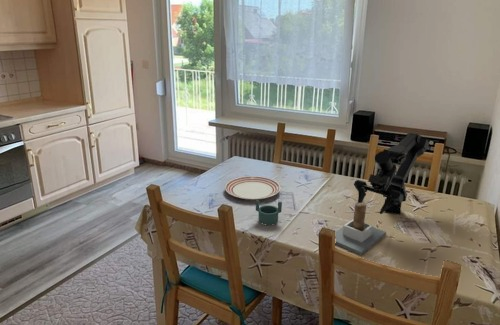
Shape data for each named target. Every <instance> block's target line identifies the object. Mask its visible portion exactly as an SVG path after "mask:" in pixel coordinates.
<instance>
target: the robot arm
mask: <svg viewBox="0 0 500 325" xmlns="http://www.w3.org/2000/svg"><path fill="white" fill-rule="evenodd" d="M429 144H430V142H429V140H428V139H426V138H425V137H423V136H422V135H420V134H419V133H414V132H408V133H407V134H406V136H405V137H404V138H403V139H402V140H400V142H399V143H398V144H397V145H393V146H390V147H388V148H387V149H386V148H384V149H383V150H382V151H379V152H378V153H377V154H375V155H374V161H375V163H376V166H377V168H378V169H379V170H378V173H376V174H373V173H371V174H369V177H368V181H367V182H368V183H370V185H368V184H367V182H366V181H364V180H360V179H356V180H355V181H354V182H353V186H354V188H355V189H356V191H357V193H358V194H357V195H358V197H357V203H363V201H364V199H365V197H366V195H367V192H368V191H369V192H372V193H375V194H378V195H382V197H383V198H384V202H383V205H382V206H381V209H380V210H379V215H382V214H383V213H388V214H395V215H399V216H400V215H401V210H402V209H401V208H402V203H403V202H406V200H407V197H408V193H407V191H406V184H405V182H406V180H407V178H408V177H409V174H410V173H411V170H412V168H413V167H414V165H415V162H416V161H417V159H418V158H420V157H421V156H422V155H424V154H425V152H426V151H427V150H428V149H429ZM396 165H399V167H397V166H396Z"/></svg>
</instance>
